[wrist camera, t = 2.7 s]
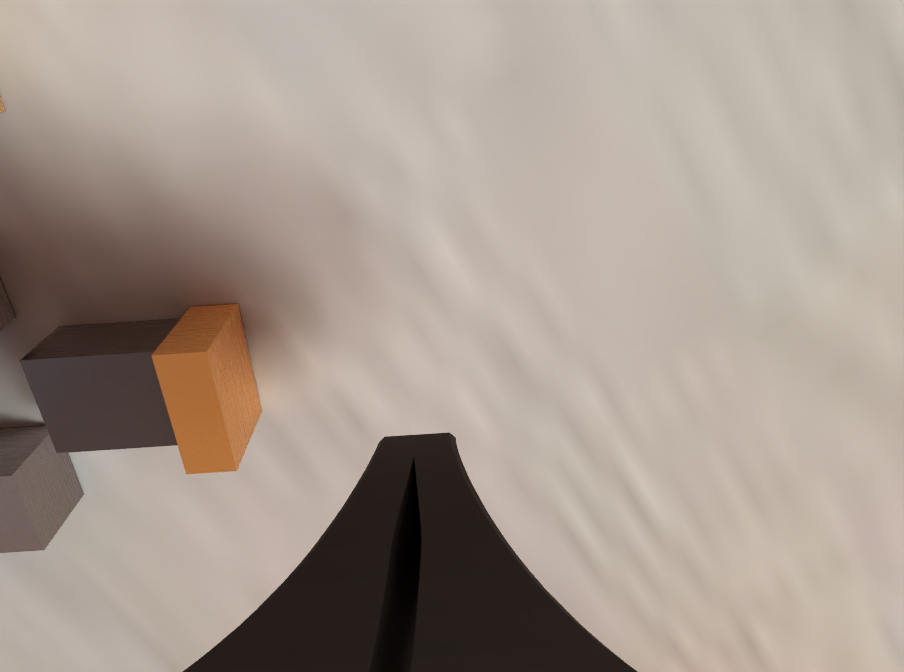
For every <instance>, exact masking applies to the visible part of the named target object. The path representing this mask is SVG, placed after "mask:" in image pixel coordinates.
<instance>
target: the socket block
mask: <svg viewBox="0 0 904 672" xmlns="http://www.w3.org/2000/svg"><path fill="white" fill-rule="evenodd" d="M15 319H16V318H15V315H14V313H13V310H12V307H11V305H10V302H9V300H8V297H7V295H6V292H5V289H4V287H3V284H2V282H1V279H0V330H1V329H3V328H4V327H5V326H7V325H8V324H9V323H11V322H12V321H13V320H15ZM83 495H84V493H83V491H82V488H81V486H80V483H79V480H78V478H77V475H76V473H75V470H74V468H73V465H72V462H71V460H70V457H69V455H68V452H66V453H56V450H55V448H54V445H53V443H52V440H51V438H50V435H49V432H48V430H47V427H46V426H33V427H18V428H3V429H0V553H6V552H21V551H37V550H45V548H46V547H47V545H48V544H49V543H50V541H51V540H52V538H53V537H54V536H55V534H56V533H57V531H58V530H59V528H60V527H61V526H62V524H63V523H64V521H65V520H66V519H67V517H68V516H69V514H70V513H71V512H72V510H73V509H74V507H75V506H76V505H77V503H78V502H79V500H80V499H81V498H82V496H83Z"/></svg>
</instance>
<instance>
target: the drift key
mask: <svg viewBox="0 0 904 672" xmlns="http://www.w3.org/2000/svg"><path fill="white" fill-rule="evenodd" d="M20 362H21V364H22V367H23V369H24V372H25V374H26V377H27V379H28V382H29V385H30V387H31V390H32V392H33V395H34V397H35V400H36V402H37V405H38V407H39V410H40V412H41V415H42V417H43V420H44V422H45V425H46V427H47V430H48V432H49V435H50V438H51V440H52V443H53V445H54V448H55V450H56V453H66V452H81V451H96V450H111V449H126V448H141V447H156V446H171V445H178V447H179V451H180V454H181V458H182V461H183V464H184V468H185V471H186V474H196V473H211V472H226V471H237V469H238V467H239V464H240V462H241V459H242V457H243V455H244V452H245V450H246V448H247V445H248V443H249V440H250V438H251V436H252V433H253V431H254V429H255V426H256V424H257V421H258V419H259V417H260V414H261V412H262V410H261V406H260V401H259V397H258V392H257V388H256V383H255V379H254V374H253V370H252V365H251V361H250V356H249V352H248V347H247V343H246V338H245V334H244V329H243V325H242V320H241V316H240V311H239V307H238V304H227V305H212V306H197V307H190V308H189V309H188V310H187V312H186V313H185V314H184V315H183V317H182V318H181V319H167V320H152V321H137V322H122V323H107V324H92V325H77V326H63V327H58V328H57V329H56V330H55V331H54V332H53V333H51V334H50V335H49V336H48V337H47V338H46V339H44V340H43V341H42V342H41V343H40V344H39V345H37V346H36V347H35V348H34V349H33V350H32V351H30V352H29V353H28V354H27V355H26V356H25V357H23V358H22V359H21V360H20Z"/></svg>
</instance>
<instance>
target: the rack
mask: <svg viewBox="0 0 904 672" xmlns="http://www.w3.org/2000/svg"><path fill="white" fill-rule="evenodd" d="M4 111H5V108H4V105H3V102H2V99H1V96H0V112H4Z"/></svg>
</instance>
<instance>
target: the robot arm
mask: <svg viewBox="0 0 904 672" xmlns="http://www.w3.org/2000/svg"><path fill="white" fill-rule="evenodd" d="M183 672H637V671H636V670H634V669H633V668H632V667H630V666H629V665H628V664H626V663H625V662H624V661H623V660H621V659H620V658H619V657H618V656H616V655H615V654H614V653H613V652H611V651H610V650H609V649H608V648H607V647H605V646H604V645H603V644H602V643H601V642H600V641H599V640H597V639H596V638H595V637H594V636H593V635H592V634H591V633H589V632H588V631H587V630H586V629H585V628H584V627H583V626H582V625H580V624H579V623H578V622H577V621H576V620H575V619H574V618H573V617H572V616H571V615H570V614H569V613H568V612H567V611H566V610H565V609H564V607H563V606H562V605H561V604H560V603H559V602H558V601H557V600H556V599H555V598H554V597H553V596H552V595H551V594H550V593H549V592H548V591H547V590H546V589H545V588H544V587H543V586H542V585H541V584H540V582H539V581H538V580H537V579H536V578H535V577H534V575H533V574H532V573H531V572H530V571H529V570H528V568H527V567H526V566H525V565H524V563H523V562H522V561H521V560H520V558H519V557H518V556H517V555H516V553H515V552H514V551H513V549H512V548H511V547H510V545H509V544H508V542H507V541H506V540H505V538H504V537H503V535H502V534H501V532H500V531H499V529H498V528H497V526H496V525H495V523H494V522H493V520H492V519H491V517H490V515H489V514H488V512H487V510H486V509H485V507H484V505H483V504H482V502H481V500H480V498H479V496H478V494H477V493H476V491H475V489H474V487H473V485H472V483H471V481H470V479H469V477H468V475H467V473H466V470H465V468H464V466H463V463H462V461H461V458H460V455H459V452H458V449H457V445H456V438H455V437H454V436H453V435H452V434H450V433H438V434H422V435H406V436H391V437H384V438H383V439H382V440H381V441H380V442H379V444H378V446H377V448H376V450H375V453H374V454H373V456H372V458H371V460H370V462H369V464H368V466H367V468H366V470H365V471H364V473H363V475H362V477H361V478H360V480H359V482H358V483H357V485H356V487H355V488H354V490H353V491H352V493H351V494H350V496H349V498H348V499H347V501H346V502H345V504H344V506H343V507H342V509H341V510H340V512H339V513H338V514H337V516H336V517H335V519H334V520H333V521H332V523H331V524H330V525H329V527H328V528H327V530H326V531H325V532H324V534H323V535H322V536H321V538H320V539H319V541H318V542H317V543H316V544H315V546H314V547H313V548H312V549H311V551H310V552H309V553H308V554H307V556H306V557H305V558H304V559H303V560H302V562H301V563H300V564H299V565H298V566H297V567H296V569H295V570H294V571H293V572H292V573H291V574H290V575H289V577H288V578H287V579H286V580H285V581H284V582H283V583H282V584H281V585H280V586H279V587H278V588H277V589H276V590H275V591H274V592H273V593H272V594H271V595H270V596H269V598H268V599H267V600H266V601H265V602H264V603H263V604H262V605H261V606H260V607H259V608H258V609H257V610H256V611H255V612H254V613H252V614H251V615H250V616H249V617H248V618H247V619H246V620H245V621H244V622H243V623H242V624H241V625H240V626H239V627H237V628H236V629H235V630H234V631H233V632H231V633H230V634H229V635H228V636H227V637H226V638H224V639H223V640H222V641H221V642H220V643H218V644H217V645H216V646H215V647H214V648H213V649H211V650H210V651H209V652H208V653H206V654H205V655H204V656H203V657H201V658H200V659H199V660H198V661H196V662H195V663H194V664H192V665H191V666H190V667H188V668H187V669H186V670H184V671H183Z"/></svg>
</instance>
